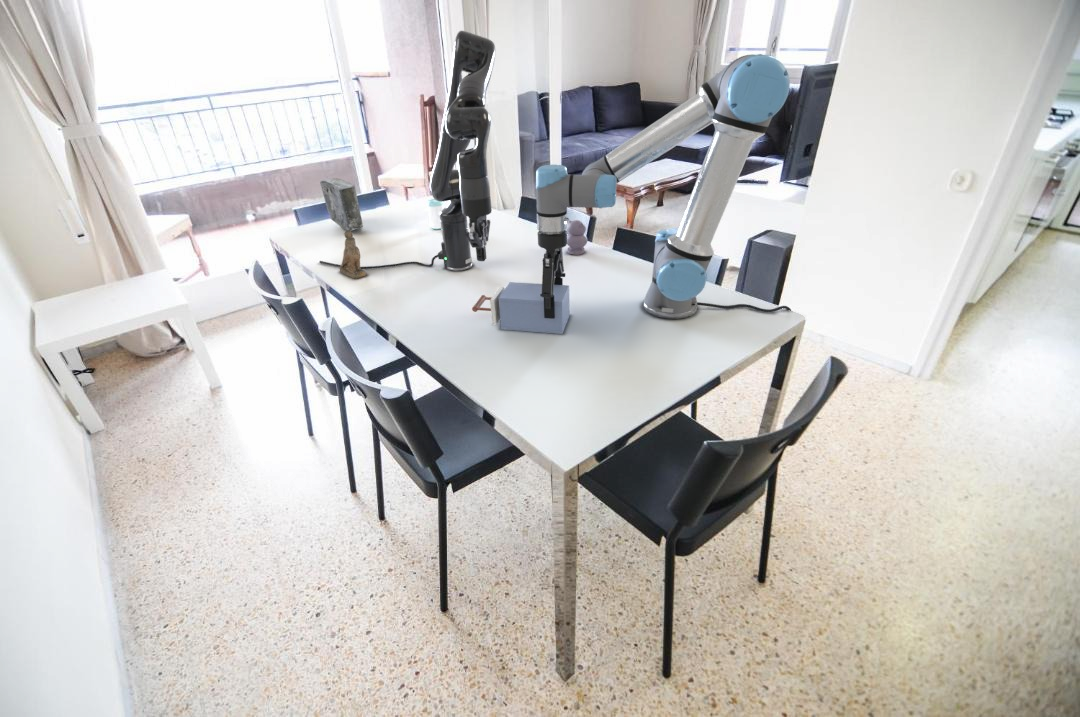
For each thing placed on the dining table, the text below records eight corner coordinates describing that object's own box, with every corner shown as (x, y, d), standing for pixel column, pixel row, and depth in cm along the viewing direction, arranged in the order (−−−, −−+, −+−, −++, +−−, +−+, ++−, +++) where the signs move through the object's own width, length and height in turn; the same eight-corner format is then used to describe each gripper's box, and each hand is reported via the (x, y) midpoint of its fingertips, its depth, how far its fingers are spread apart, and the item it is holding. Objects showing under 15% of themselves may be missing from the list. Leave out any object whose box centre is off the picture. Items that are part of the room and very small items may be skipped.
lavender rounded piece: (591, 251, 189) (592, 220, 183) (578, 257, 185) (578, 225, 178) (574, 246, 195) (574, 216, 188) (561, 252, 190) (560, 221, 183)
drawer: (472, 322, 140) (469, 298, 136) (483, 307, 148) (480, 284, 144) (548, 328, 136) (547, 303, 132) (555, 312, 144) (554, 288, 140)
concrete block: (368, 232, 220) (358, 186, 209) (348, 237, 216) (336, 189, 205) (349, 220, 239) (338, 176, 228) (330, 223, 234) (319, 179, 224)
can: (445, 229, 220) (441, 202, 214) (429, 230, 220) (425, 202, 214) (447, 224, 226) (444, 198, 220) (432, 225, 226) (428, 198, 220)
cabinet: (501, 329, 138) (498, 298, 133) (511, 312, 148) (509, 282, 143) (562, 334, 135) (562, 302, 130) (569, 315, 144) (569, 285, 139)
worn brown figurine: (368, 281, 178) (362, 235, 166) (353, 285, 175) (347, 238, 163) (352, 266, 184) (346, 221, 172) (338, 270, 181) (331, 224, 169)
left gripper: (481, 201, 119) (487, 269, 128) (497, 188, 130) (502, 252, 139) (451, 201, 121) (460, 268, 130) (470, 188, 132) (476, 251, 141)
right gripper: (557, 246, 116) (559, 329, 127) (574, 217, 135) (574, 291, 146) (526, 244, 117) (530, 326, 129) (547, 216, 137) (549, 290, 148)
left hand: (481, 260), depth 135 cm, fingers closed
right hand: (553, 308), depth 138 cm, fingers closed on cabinet, 11 cm apart
